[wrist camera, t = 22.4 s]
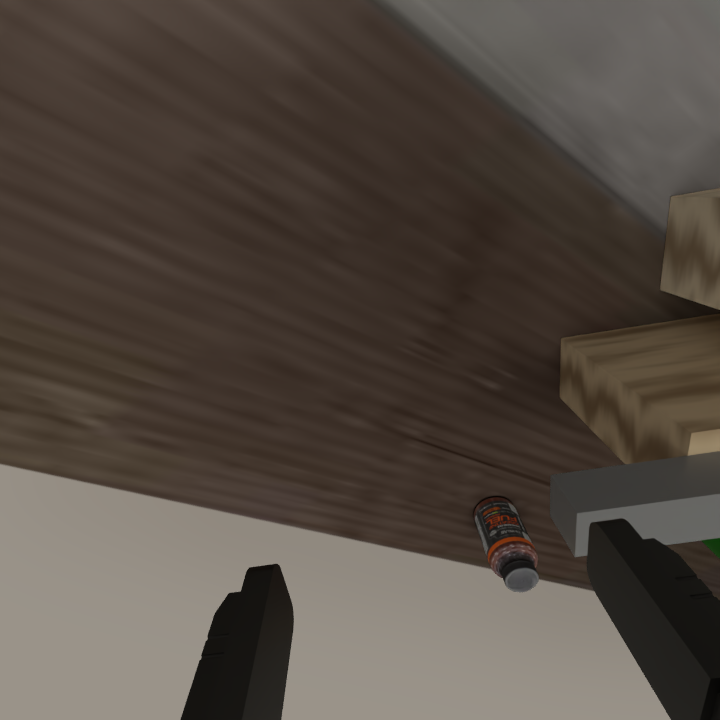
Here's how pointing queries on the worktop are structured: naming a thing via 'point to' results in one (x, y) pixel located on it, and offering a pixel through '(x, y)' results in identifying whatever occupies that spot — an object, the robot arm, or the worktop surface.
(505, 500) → the supplement bottle
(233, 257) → the worktop surface
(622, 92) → the worktop surface
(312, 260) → the worktop surface
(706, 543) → the motor
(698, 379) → the stand
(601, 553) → the robot arm
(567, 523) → the grey and tan bar
